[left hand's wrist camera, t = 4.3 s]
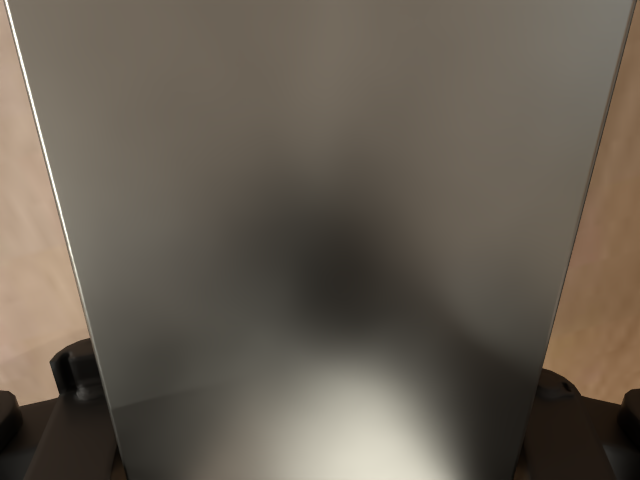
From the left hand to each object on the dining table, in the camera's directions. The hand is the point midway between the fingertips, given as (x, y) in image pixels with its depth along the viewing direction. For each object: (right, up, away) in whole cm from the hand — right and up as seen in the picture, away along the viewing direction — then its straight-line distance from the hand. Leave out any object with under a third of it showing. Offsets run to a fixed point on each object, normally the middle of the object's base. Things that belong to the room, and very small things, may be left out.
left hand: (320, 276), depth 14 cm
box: (0, +9, -3) cm, 9 cm away
